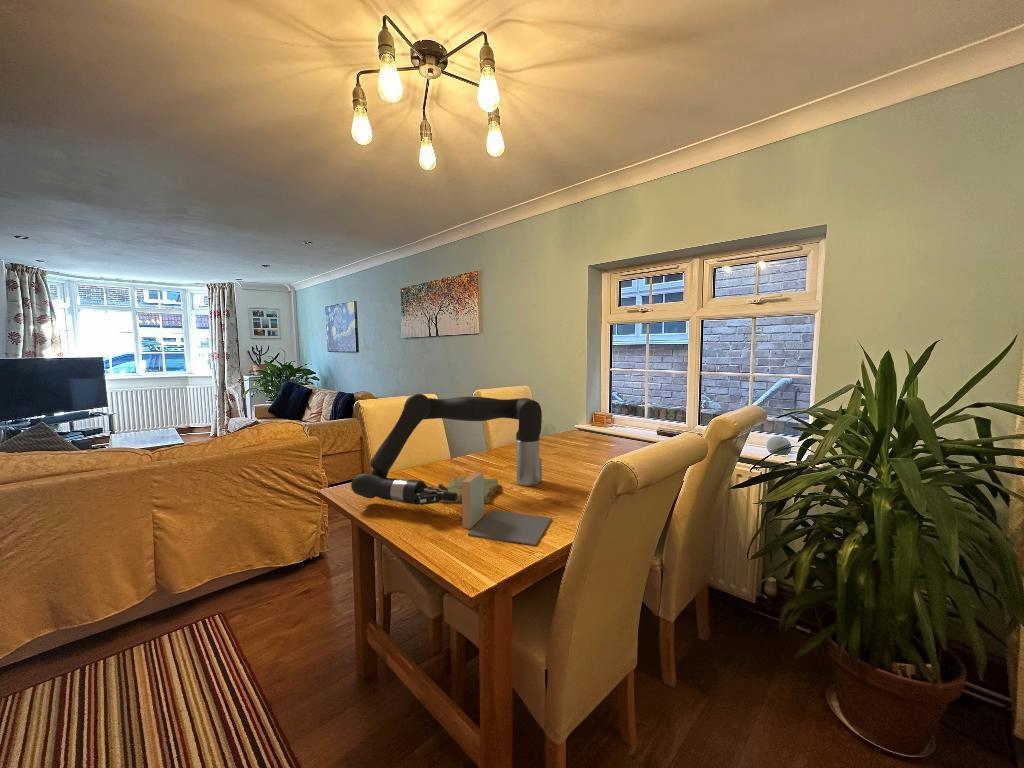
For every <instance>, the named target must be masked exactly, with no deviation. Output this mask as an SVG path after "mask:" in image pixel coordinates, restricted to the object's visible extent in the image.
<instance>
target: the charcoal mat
mask: <svg viewBox="0 0 1024 768" xmlns="http://www.w3.org/2000/svg"><path fill="white" fill-rule="evenodd" d="M552 520H553V517H548V516H540V515H532V514H526V513H525V514H524V513H519V512H510V511H509V512H508V511H503V510H497V509H496V510H495V509H491V510H490V511H489V512H488V513H487V514H486V515H484V516H483V517H482V518H481V519H480V520H479V521H478V522H477V523H476V524H475V525H474V526H473V527H472V528H471V529H470V531H468V533H467V536H470V537H476V538H483V539H488V540H495V541H500V542H508V543H512V542H513V543H514V544H518V543H521V544H520V545H525V544H528V545H527V546H531V545H534V546H533V547H537V545H538V544H539V542H540V540H541V538H542V536H543V535H544V534H545V532H546V530H547V528H548V527H549V525H550V523H551V522H552ZM538 541H539V542H538ZM513 543H512V544H513Z"/></svg>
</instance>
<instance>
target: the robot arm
mask: <svg viewBox="0 0 1024 768" xmlns="http://www.w3.org/2000/svg"><path fill="white" fill-rule="evenodd" d="M542 418H543V412H542V406H541V405H540V403H539V402H538V401H536V400H534V399H531V398H526V397H522V398H510V399H509V398H508V399H500V398H494V397H485V396H482V397H481V396H458V397H450V398H432V397H428V396H426V395H425V394H422V393H415V394H412V395H410V396H409V397H407V399H406V400H405V402H404V405H403V409H402V411H401V413H400V416H399V418H398V420H397V422H396V423H395V425H394V426H393V428H392V430H391V431H390V432H389V434H388V435H387V436H386V438H385V439H384V441H383V442H382V444H380V446H379V447H378V449H377V451H375V454H374V455H373V457H372V458H371V460H370V462H369V466H370V467H371V468H372V471H371V474H370V473H360V474H357V475H356V476H355V477H354V478H353V479H352V480H351V483H350V484H351V485H350V489H351V491H352V492H353V493H354V494H355V495H358V496H360V497H363V498H366V499H374V498H379V499H382V500H385V501H386V500H387V501H393V502H394V501H395V502H397V503H402V504H409V505H416V506H417V505H418V506H419V505H421V506H424V505H432V504H439V503H441V502H440V501H444V500H447V501H455V500H457V493H453V492H448V489H447V488H446V487H447V486H444V485H443V484H442V483H441V484H440V483H439V484H438V485H437V486H436V487H435V486H434V485H428V486H427V484H426V482H425V481H424V480H419V479H418V480H416V479H410V478H409V479H408V478H396V477H395V478H391V477H388V474H389V471H390V470H391V468H392V467H393V466H394V463H395V462H396V460H397V459H398V457H399V455H400V454H401V452H402V450H403V448H404V446H405V444H406V443H407V441H408V440H409V438H410V436H411V435H412V434H413V432H414V431H415V429H416V428H417V427H418V425H419V424H420V423H421V422H422V421H423V420H432V419H434V420H435V419H436V420H437V419H443V420H444V419H445V420H453V421H461V422H462V421H463V422H486V421H491V420H496V419H510V420H511V419H513V420H517V421H518V428H517V432H516V433H515V439H516V440H515V455H516V456H515V458H516V459H515V460H516V461H515V462H516V463H515V464H516V465H515V466H516V467H515V468H516V470H515V471H516V474H515V475H516V477H515V479H516V483H517V484H518V485H521V486H529V487H530V486H537V485H538V484H540V483H542V482H543V475H542V474H543V467H542V466H543V465H542V463H543V459H542V458H541V457H540V455H541V454H540V453H541V452H540V450H541V449H540V445H541V444H540V439H541V437H540V436H541V433H542V423H543V421H542V420H543V419H542Z"/></svg>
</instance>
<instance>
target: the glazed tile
mask: <svg viewBox="0 0 1024 768" xmlns="http://www.w3.org/2000/svg"><path fill="white" fill-rule="evenodd" d="M484 475H485V474H484V473H483V472H481V471H475V472H473V473H472V474H470V475H469V476H467V477H466V479H465V480H463V481H462V503H461V512H462V513H461V516H462V517H461V519H462V521H461V522H462V526H461V527H462V528H463V529H470V530H471V529H473V528H474V527H475V526H476V525H477V524H478V523H479V522H480V521H481V520H482V519H483V518H484V517H485V503H484V479H485V478H484Z"/></svg>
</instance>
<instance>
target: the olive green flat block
mask: <svg viewBox="0 0 1024 768" xmlns="http://www.w3.org/2000/svg"><path fill="white" fill-rule="evenodd" d="M466 478H467V477H466V476H465V477H459V478H458V477H454V478H452V480H450V482H449V483H448V485H447V486H445V487H446V488H447V489H448V492H453V493H457V500H455V501H447V500H444V501H440V502H439V503H445V504H446V503H449V502H452V504H462V481H463V480H465V479H466ZM498 485H499V480H498V478H484V504H489V503H490V501H491V498H492V497H493V496H494V495H495V494H496V493H497V492H496V491H498V489H499V486H500V485H499V486H498ZM495 492H496V493H495ZM494 493H495V494H494ZM492 495H493V496H492ZM491 496H492V497H491ZM490 497H491V498H490Z"/></svg>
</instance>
